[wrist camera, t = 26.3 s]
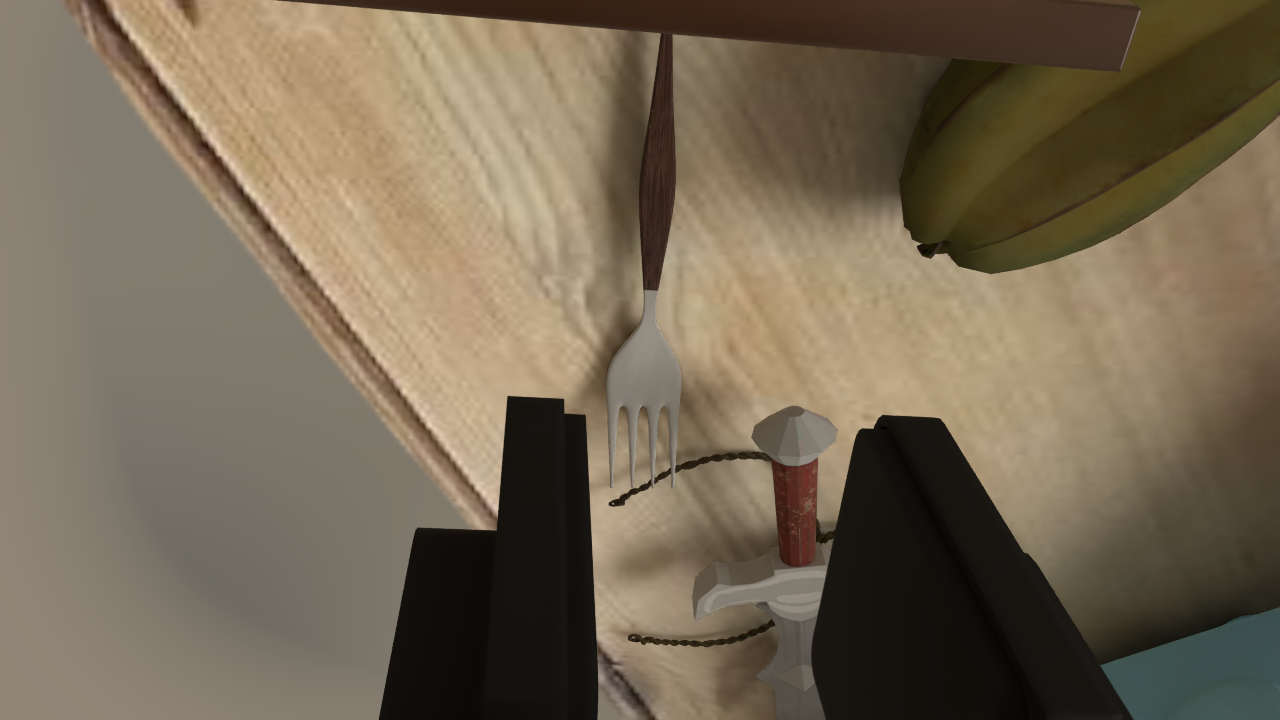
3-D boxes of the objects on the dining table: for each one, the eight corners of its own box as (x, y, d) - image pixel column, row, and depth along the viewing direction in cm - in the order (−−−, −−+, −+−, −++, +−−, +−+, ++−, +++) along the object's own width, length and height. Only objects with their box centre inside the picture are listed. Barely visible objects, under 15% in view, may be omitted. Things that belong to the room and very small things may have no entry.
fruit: (948, -162, 31) (1039, -151, 25) (1331, -92, 33) (1499, -67, 27) (850, 218, 36) (907, 300, 30) (1186, 262, 38) (1302, 348, 32)
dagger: (727, 967, 51) (678, 446, 36) (722, 913, 54) (673, 401, 38) (896, 952, 51) (922, 422, 35) (884, 898, 53) (903, 378, 38)
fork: (711, 0, 33) (720, 12, 31) (674, 458, 40) (680, 489, 38) (623, -4, 32) (627, 8, 31) (602, 458, 40) (604, 488, 38)
